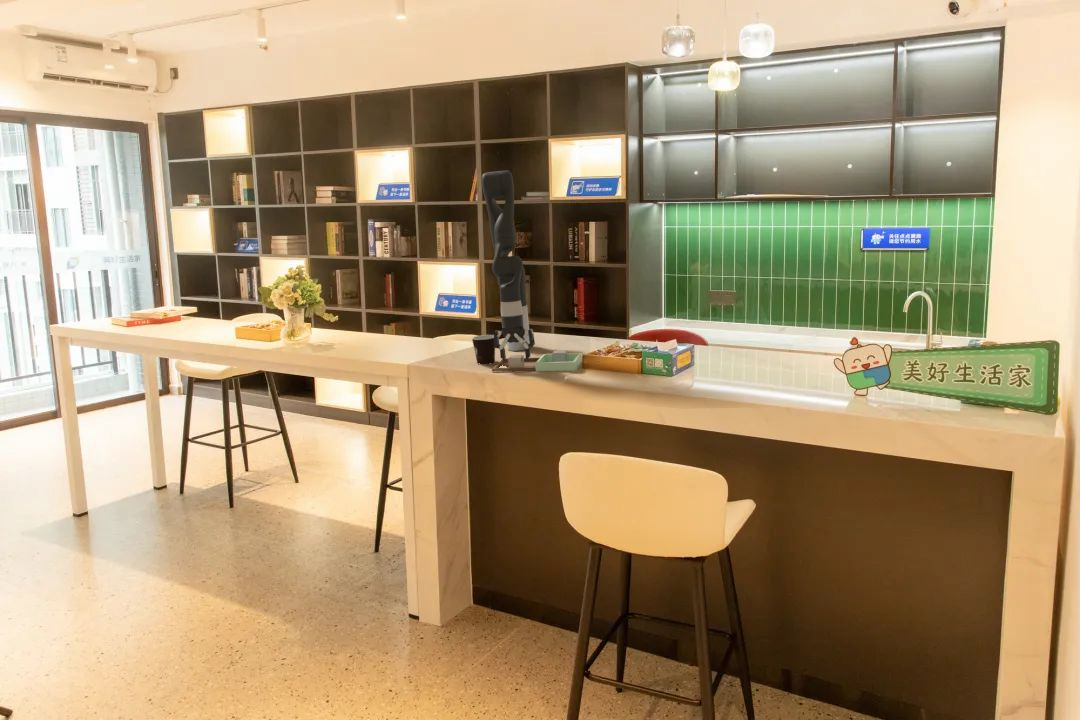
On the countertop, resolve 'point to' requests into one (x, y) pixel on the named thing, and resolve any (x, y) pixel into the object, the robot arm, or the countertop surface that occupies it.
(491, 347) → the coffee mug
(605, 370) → the countertop surface
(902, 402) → the countertop surface
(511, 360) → the light grey cube
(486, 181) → the robot arm
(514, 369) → the walnut tray
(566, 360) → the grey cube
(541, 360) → the green dish
